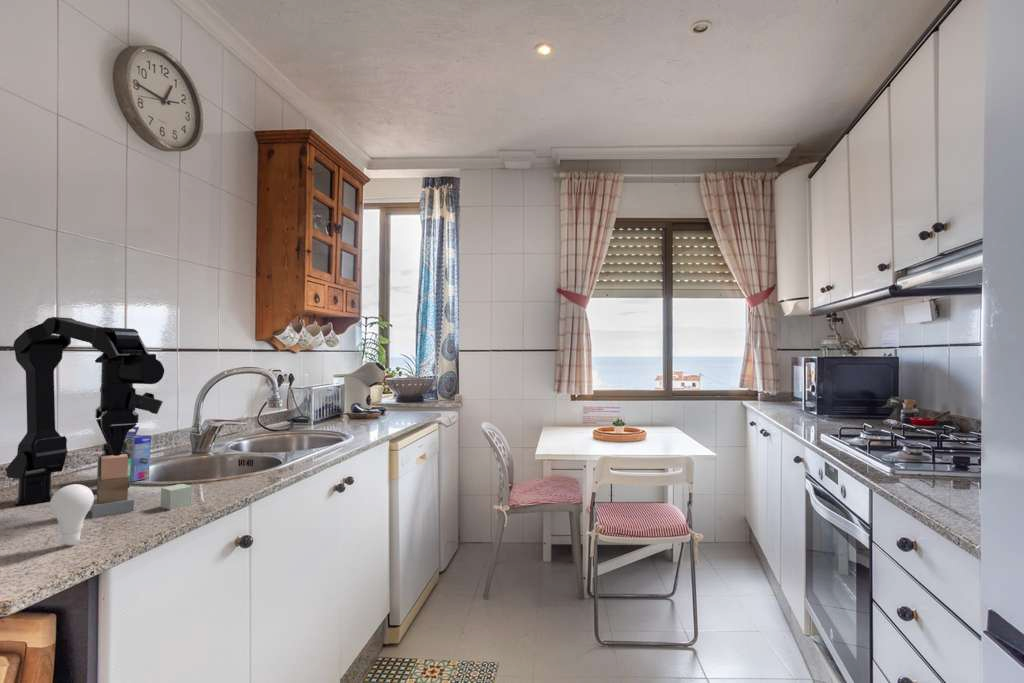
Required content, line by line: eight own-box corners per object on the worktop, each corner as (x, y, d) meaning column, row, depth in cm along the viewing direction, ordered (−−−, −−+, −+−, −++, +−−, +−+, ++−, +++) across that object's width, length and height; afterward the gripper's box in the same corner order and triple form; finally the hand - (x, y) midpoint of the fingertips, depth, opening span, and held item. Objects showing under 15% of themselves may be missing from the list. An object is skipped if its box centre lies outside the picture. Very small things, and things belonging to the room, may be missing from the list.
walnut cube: (96, 499, 114) (97, 476, 114) (124, 495, 117) (125, 473, 117) (98, 504, 110) (99, 480, 110) (127, 499, 114) (128, 477, 114)
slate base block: (90, 512, 114) (91, 499, 114) (129, 506, 119) (130, 493, 119) (92, 520, 109) (93, 505, 109) (133, 513, 113) (133, 499, 114)
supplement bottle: (136, 487, 134) (137, 441, 134) (106, 494, 127) (108, 445, 128) (120, 484, 136) (121, 439, 137) (90, 490, 130) (92, 443, 131)
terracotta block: (100, 476, 114) (101, 456, 114) (125, 473, 117) (126, 453, 117) (101, 480, 111) (102, 459, 111) (127, 476, 114) (128, 456, 114)
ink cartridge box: (151, 478, 144) (152, 426, 145) (132, 482, 139) (134, 429, 139) (122, 476, 146) (123, 425, 147) (103, 480, 141) (105, 428, 141)
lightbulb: (66, 539, 96) (68, 480, 96) (100, 539, 96) (102, 480, 97) (38, 552, 90) (41, 489, 90) (75, 551, 90) (77, 488, 90)
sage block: (160, 507, 117) (161, 487, 117) (181, 502, 121) (182, 483, 121) (170, 510, 114) (170, 490, 115) (191, 505, 118) (192, 486, 118)
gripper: (167, 384, 114) (164, 454, 113) (153, 380, 128) (151, 443, 127) (103, 385, 106) (100, 460, 106) (96, 381, 120) (93, 448, 119)
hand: (114, 452), depth 115 cm, fingers open, 9 cm apart
